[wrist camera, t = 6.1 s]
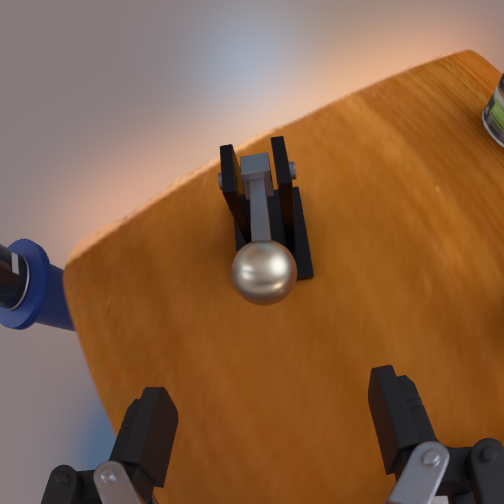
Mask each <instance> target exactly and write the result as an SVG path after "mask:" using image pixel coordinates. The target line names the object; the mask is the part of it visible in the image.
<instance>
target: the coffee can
mask: <svg viewBox="0 0 504 504" xmlns="http://www.w3.org/2000/svg"><path fill="white" fill-rule="evenodd" d="M482 121H483V124H484V126H485V128H486V130H487V131H488V133H489V134H490V136H491V137H492V138H493V139H494V140H495V141H496V142H497V143H498V144H499V145H500V146H502V147H503V148H504V73H503V75H502V77H501V79H500V81H499V83H498V85H497V87H496V89H495V91H494V93H493V95H492V96H491V98H490V100H489V102H488V104H487V106H486V107H485V109H484V110H483V112H482Z"/></svg>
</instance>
